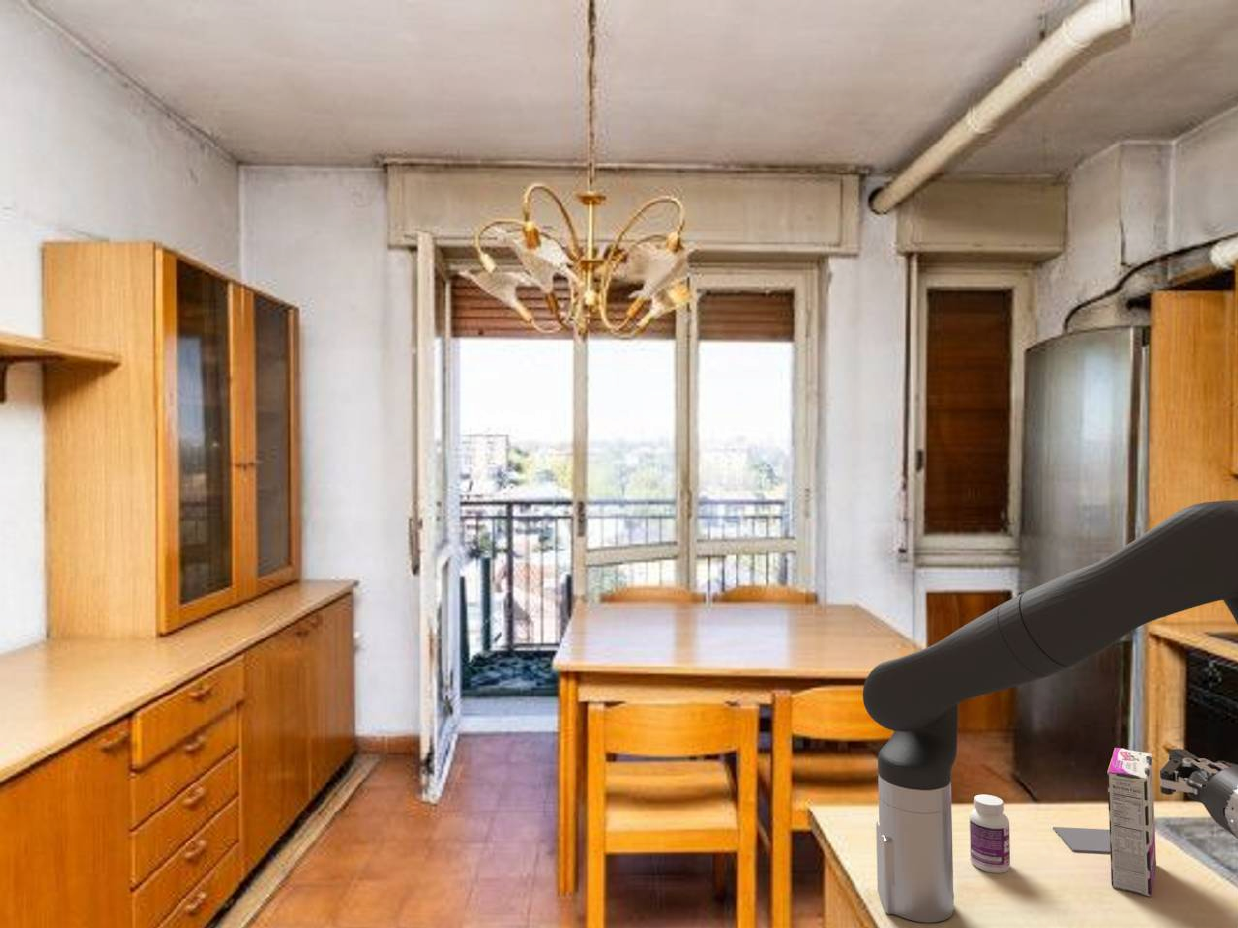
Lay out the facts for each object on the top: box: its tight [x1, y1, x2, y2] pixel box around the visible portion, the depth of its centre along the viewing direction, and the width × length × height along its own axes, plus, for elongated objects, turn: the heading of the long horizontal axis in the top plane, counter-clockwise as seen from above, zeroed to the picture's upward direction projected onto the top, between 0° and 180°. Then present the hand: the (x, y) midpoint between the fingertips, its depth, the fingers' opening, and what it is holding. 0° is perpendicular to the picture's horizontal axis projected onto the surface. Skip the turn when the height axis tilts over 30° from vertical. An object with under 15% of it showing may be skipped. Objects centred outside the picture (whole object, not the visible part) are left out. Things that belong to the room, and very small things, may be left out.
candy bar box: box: [1106, 747, 1157, 898], centre depth 111 cm, size 11×5×16 cm, turn 143°
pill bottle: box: [969, 793, 1011, 874], centre depth 115 cm, size 5×5×10 cm
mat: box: [1052, 826, 1111, 854], centre depth 121 cm, size 11×8×1 cm
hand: (1176, 756), depth 100 cm, fingers closed
